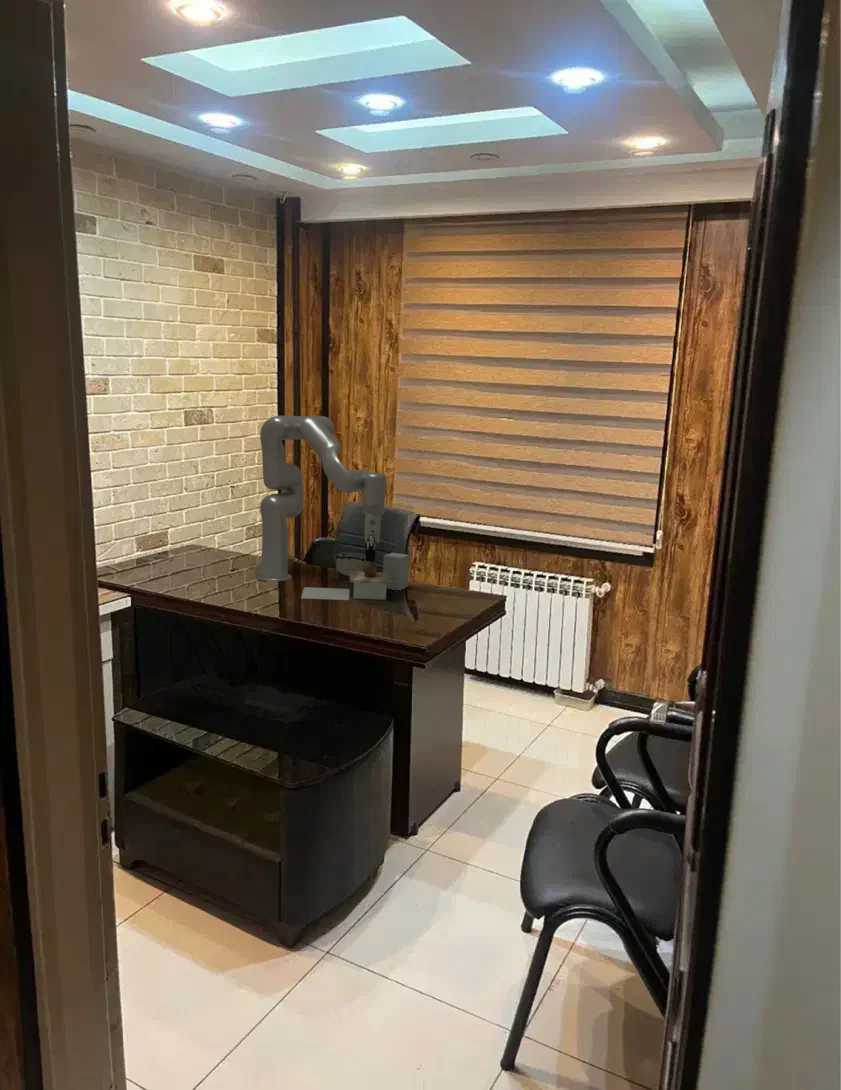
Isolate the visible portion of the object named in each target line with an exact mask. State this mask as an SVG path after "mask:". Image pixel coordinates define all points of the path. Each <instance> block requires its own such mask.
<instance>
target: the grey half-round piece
mask: <svg viewBox="0 0 841 1090" xmlns="http://www.w3.org/2000/svg"><path fill="white" fill-rule="evenodd" d="M365 558H366V555H365V554H363V553H360V552H359V553H358V552H357V553H356V552H338V553H336V554H335V555H334V558H333V560H334V561H335V570H336V581H348V580H350V571H357V572H365Z"/></svg>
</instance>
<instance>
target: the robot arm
mask: <svg viewBox="0 0 841 1090" xmlns="http://www.w3.org/2000/svg"><path fill="white" fill-rule="evenodd" d="M334 433H335V424H334V423H333V421H332V420H331V419H330V418H329V417H327V416H323V415H309V416H303V415H301V416H300V415H275V416H272V417H270V418H268V419H266V421H264V423H263V424H262V426H261V428H260V433H259V438H260V445H261V453H262V454H261V455H262V457H261V460H262V463H261V464H262V478H263V484H264V486H265V487H266V489H268V490H271V491H272V490H273V491H280V492H277V493H271V494H268V495H266V496H265V497H264V498H262V500H261V502H260V506H259V507H260V508H259V509H260V517H261V526H262V531H261V532H262V535H261V536H262V538H261V539H262V541H261V564H256V565H255V566H254V568H253V570H254V571H258V574H257V575H256V578H257V579H258V580H259V581H262V582H282V581H283V582H284V581H289V580H291V579H292V577H293V576H292V575H291V574H290V573H288V570H289V566H288V565H289V535H290V534H289V527H288V523H287V521H286V519H291V518H295V517H298V516H299V515H300V514H301V512H302V510H303V508H304V488H303V474H302V471H301V470H300V468H299V467H298V466H297V465H296V464H294V463H291V462H287V452H286V451H287V450H286V447H285V446H284V444H283V442H282V441H283V440H289V441H290V440H291V441H292V440H304V441H305V442H306V443H307V445H309V446H310V447H311V449H312V450H313V451H314V452H315V454H316V455H317V456H318V457H319V458H320V460H321V465H322V469H323V471H324V474H325V476H326V477H327V479H328V480H329V481H330V482H331V483H332V485H334V487H335V488H336V489H338V490H339V491H340V492H342V493H344V494H345V493H346V494H347V493H349V494H350V493H355V492H363V493H362V504H361V505H362V507H361V508H362V509H361V513H362V514H365V515H364V541H365V554H364V555H365V556H366V558H365V560H366V561H375V559H376V543H377V544H380V540H381V539H380V538H381V525H382V524H381V523H382V522H381V521H382V520H381V519H382V515H385V504H386V503H385V502H386V490H387V489H386V488H387V476H386V474H385V473H381V472H372V471H368V470H365V469H349V470H348V469H347V468H346V467H345V466H344V464H343V463H342V462H341V461H340V459H339V457H338V454H339V453H340V451H341V448H342V445H341V443H340V442H339V440H338V439H337V437H335V436H334Z"/></svg>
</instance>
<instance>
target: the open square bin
mask: <svg viewBox="0 0 841 1090" xmlns="http://www.w3.org/2000/svg"><path fill="white" fill-rule="evenodd" d="M386 585H387V584H382V583H357V582H353V596H352V598H353V599H356V600H359V599H361V600H385V601H386V600H387V588H386Z"/></svg>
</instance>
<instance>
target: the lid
mask: <svg viewBox="0 0 841 1090" xmlns="http://www.w3.org/2000/svg"><path fill="white" fill-rule="evenodd" d="M377 561H378V560H377V558H375V561H366V560H365V565H364V572H357V571H350V581H349V583H354V582H357V583H382V584H391V578H390V573H383V572H377V567H378V565H377Z"/></svg>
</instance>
